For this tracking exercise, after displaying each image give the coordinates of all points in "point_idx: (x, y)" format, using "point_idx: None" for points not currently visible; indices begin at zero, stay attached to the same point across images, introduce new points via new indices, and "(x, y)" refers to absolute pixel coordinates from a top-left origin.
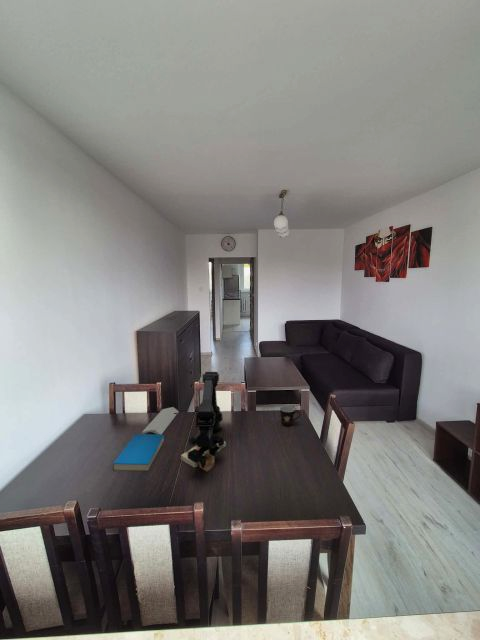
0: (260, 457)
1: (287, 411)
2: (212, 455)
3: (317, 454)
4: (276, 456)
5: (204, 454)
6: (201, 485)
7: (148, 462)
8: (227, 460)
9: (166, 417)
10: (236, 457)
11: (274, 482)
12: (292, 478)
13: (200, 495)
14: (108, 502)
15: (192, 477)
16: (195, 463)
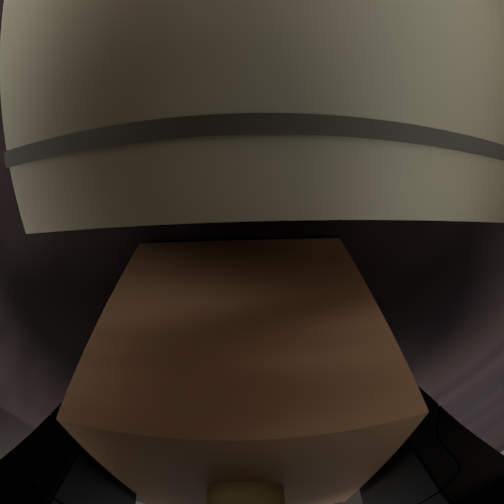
0: (491, 421)
1: None
2: (354, 490)
3: (499, 451)
4: (496, 433)
5: (291, 446)
6: (55, 404)
7: None
8: (451, 367)
9: None
10: (491, 373)
11: (349, 501)
12: None
13: (34, 423)
14: None
15: (4, 303)
16: (48, 226)
